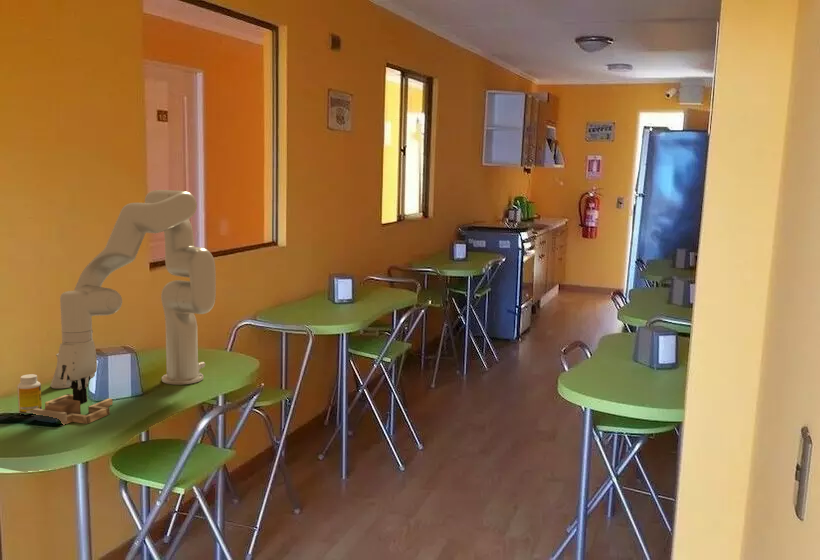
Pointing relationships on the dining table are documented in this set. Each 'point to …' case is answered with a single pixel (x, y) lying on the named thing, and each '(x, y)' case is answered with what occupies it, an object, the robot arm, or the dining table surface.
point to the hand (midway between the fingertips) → (80, 402)
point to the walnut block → (65, 406)
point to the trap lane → (95, 410)
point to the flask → (57, 379)
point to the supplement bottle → (29, 394)
